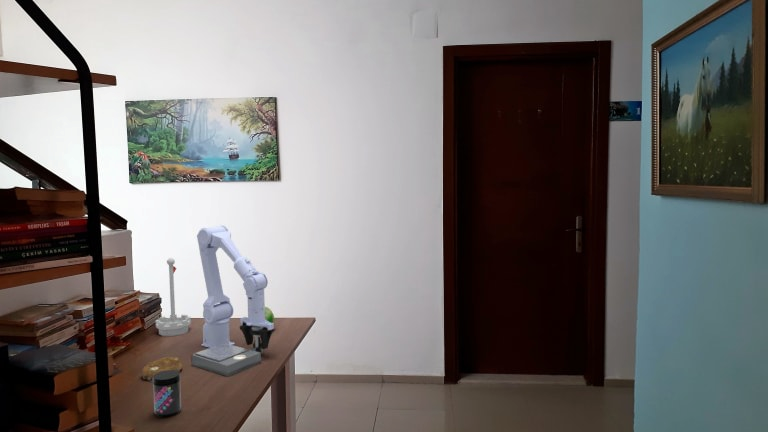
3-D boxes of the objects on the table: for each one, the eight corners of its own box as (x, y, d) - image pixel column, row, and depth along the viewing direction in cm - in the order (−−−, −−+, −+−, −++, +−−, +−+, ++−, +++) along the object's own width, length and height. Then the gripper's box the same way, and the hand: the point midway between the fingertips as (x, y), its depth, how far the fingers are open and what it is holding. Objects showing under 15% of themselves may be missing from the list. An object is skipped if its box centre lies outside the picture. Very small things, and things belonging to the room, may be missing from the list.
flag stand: (183, 337, 205) (180, 260, 202) (150, 337, 205) (146, 260, 202) (196, 326, 218) (193, 255, 215) (164, 327, 218) (161, 255, 215)
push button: (263, 357, 182) (263, 329, 181) (248, 358, 181) (247, 329, 180) (266, 351, 188) (265, 323, 187) (251, 351, 188) (250, 324, 187)
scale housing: (191, 365, 175) (190, 353, 175) (225, 352, 187) (224, 342, 186) (227, 376, 165) (227, 364, 165) (260, 362, 177) (260, 351, 176)
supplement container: (150, 411, 141) (148, 374, 140) (176, 404, 146) (174, 367, 145) (159, 420, 136) (157, 381, 135) (185, 412, 141) (183, 375, 140)
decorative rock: (150, 367, 175) (138, 386, 161) (149, 355, 175) (136, 374, 160) (186, 362, 177) (177, 382, 163) (185, 351, 177) (176, 369, 162)
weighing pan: (195, 355, 175) (195, 353, 175) (224, 345, 185) (224, 343, 185) (219, 362, 168) (219, 360, 168) (248, 351, 178) (248, 349, 178)
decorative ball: (250, 327, 216) (250, 303, 215) (275, 326, 217) (275, 303, 216) (247, 335, 206) (246, 310, 206) (273, 334, 208) (272, 309, 207)
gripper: (233, 308, 184) (234, 345, 185) (262, 314, 176) (263, 353, 177) (248, 303, 190) (249, 340, 191) (277, 309, 182) (278, 347, 183)
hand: (257, 346), depth 185 cm, fingers open, 7 cm apart
